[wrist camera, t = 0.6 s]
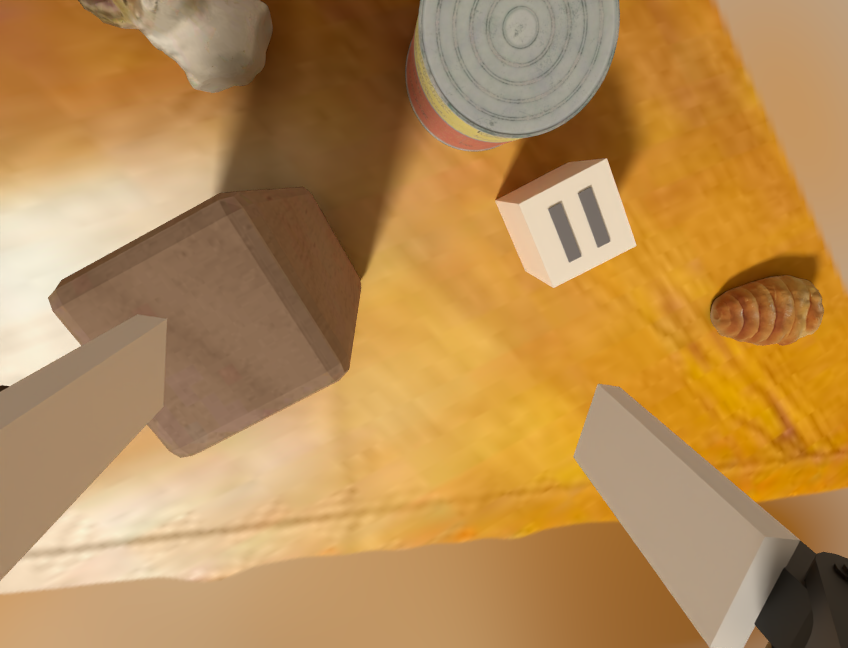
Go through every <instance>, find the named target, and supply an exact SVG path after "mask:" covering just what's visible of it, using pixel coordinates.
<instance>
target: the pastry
mask: <svg viewBox="0 0 848 648" xmlns="http://www.w3.org/2000/svg"><path fill="white" fill-rule="evenodd" d="M823 314H824V308H823V305H822V297H821V295H820V293H819V291H818V290H817V289H816V288H815V286H814V285H813V284H812V283H811V282H810V281H808V280H806V279H800V278H796V277H793V276H790V275H782V276H774V277H767V278H764V279H761V280H757V281H753V282H750V283H747V284H745V285H742V286H739V287H736V288H733V289H731V290H728V291H726V292H725V293H723V294H722V295H721V296H719V297H718V298H716V299H715V300H714V302H713V304H712V309H711V315H710V318H711V321H712V324H713V325H714V327H715V328H716V329H717V331H718V332H719V334H720V335H721V336H725V337H730V338H733V339H735V340H737V341H744V342H748V343H753V344H755V345H769V344H776V343H777V344H779V345H787V344H791V343H793V342H795V341H797V340H798V339H799V338H802V337H804V336H806V335H809V334H813V333H814V332H815V331H816V330H817V329H818V327H819V325H820V324H821V321H822V317H823Z"/></svg>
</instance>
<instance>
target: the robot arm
mask: <svg viewBox="0 0 848 648" xmlns="http://www.w3.org/2000/svg"><path fill="white" fill-rule="evenodd" d="M166 331H167V319H165V318H158V317H152V316H145V315H138V314H137V315H136V316H134V317H132V318H130V319H128V320H127V321H125V322H123V323H121V324H120V325H118V326H116V327H114V328H113V329H111V330H109V331H107V332H105V333H104V334H102V335H100V336H98V337H97V338H95V339H93V340H91V341H89V342H88V343H86V344H84V345H82V346H81V347H79V348H77V349H75V350H73V351H72V352H70V353H68V354H66V355H65V356H63V357H61V358H59V359H57V360H56V361H54V362H52V363H50V364H49V365H47V366H45V367H43V368H42V369H40V370H38V371H36V372H34V373H33V374H31V375H29V376H27V377H26V378H24V379H22V380H20V381H18V382H17V383H15V384H13V385H11V386H3V385H2V386H0V581H1V579H2V578H3V577H4V576H5V575H6V574H7V573H8V572H9V571H10V570H11V569H12V568H13V567H14V566H15V565H16V563H17V562H18V561H19V560H20V559H21V558H22V557H23V556H24V555H25V554H26V553H27V552H28V551H29V550H30V549H31V547H32V546H33V545H34V544H35V543H36V542H37V541H38V540H39V539H40V538H41V537H42V536H43V535H44V534H45V533H46V531H47V530H48V529H49V528H50V527H51V526H52V525H53V524H54V523H55V522H56V521H57V520H58V519H59V518H60V517H61V515H62V514H63V513H64V512H65V511H66V510H67V509H68V508H69V507H70V506H71V505H72V504H73V503H74V502H75V500H76V499H77V498H78V497H79V496H80V495H81V494H82V493H83V492H84V491H85V490H86V489H87V488H88V487H89V486H90V484H91V483H92V482H93V481H94V480H95V479H96V478H97V477H98V476H99V475H100V474H101V473H102V472H103V471H104V470H105V468H106V467H107V466H108V465H109V464H110V463H111V462H112V461H113V460H114V459H115V458H116V457H117V456H118V455H119V454H120V452H121V451H122V450H123V449H124V448H125V447H126V446H127V445H128V444H129V443H130V442H131V441H132V440H133V439H134V438H135V436H136V435H137V434H138V433H139V432H140V431H141V430H142V429H143V428H144V427H145V426H146V425H147V424H148V423H149V422H150V420H151V419H152V418H153V417H154V416H155V415H156V414H157V413H158V412H159V411H160V410H161V409H162V408H163V402H164V378H165V355H166ZM574 458H575V460H576V461H577V463H578V464H579V465H580V467H581V468H582V470H583V471H584V472H585V474H586V475H587V477H588V478H589V479H590V481H591V482H592V484H593V485H594V486H595V488H596V489H597V491H598V492H599V493H600V495H601V496H602V498H603V499H604V500H605V502H606V503H607V505H608V506H609V507H610V509H611V510H612V512H613V513H614V514H615V516H616V517H617V519H618V520H619V521H620V523H621V524H622V526H623V527H624V528H625V530H626V531H627V533H628V534H629V535H630V537H631V538H632V539H633V541H634V542H635V544H636V545H637V547H638V548H639V549H640V551H641V552H642V554H643V555H644V556H645V558H646V559H647V560H648V562H649V563H650V565H651V566H652V568H653V569H654V570H655V572H656V573H657V574H658V576H659V577H660V579H661V580H662V581H663V583H664V584H665V586H666V587H667V588H668V590H669V591H670V593H671V594H672V595H673V597H674V598H675V600H676V601H677V602H678V604H679V605H680V607H681V608H682V609H683V611H684V612H685V614H686V615H687V616H688V618H689V619H690V621H691V622H692V623H693V625H694V626H695V628H696V629H697V630H698V632H699V633H700V634H701V636H702V637H703V639H704V640H705V642H706V643H707V644H708V646H709V647H710V648H744V645H745V644H746V642H747V640H748V638H749V636H750V634H751V632H752V630H753V629H754V627H755V625H756V627H757V628H758V629H759V630H760V631H761V632H762V634H763V635H764V636H765V637H766V638H767V639H768V641H769V642H768V644H767V646H766V648H848V559H847V558H844V557H842V556H839V555H836V554H832V553H826V552H822V553H818V554H816V553H814V552H813V551H812V550H811V549H810V548H809V547H807V546H806V545H805V544H804V543H803V542H801V541H800V540H799V539H798V538H797V537H796V536H795V535H793V534H792V533H791V532H790V531H789V530H788V529H786V528H785V527H784V526H783V525H782V524H780V523H779V522H778V521H777V520H776V519H775V518H773V517H772V516H771V515H770V514H769V513H768V512H766V511H765V510H764V509H763V508H762V507H760V506H759V505H758V504H757V503H756V502H755V501H753V500H752V499H751V498H750V497H749V496H747V495H746V494H745V493H744V492H743V491H742V490H740V489H739V488H738V487H737V486H736V485H734V484H733V483H732V482H731V481H730V480H729V479H727V478H726V477H725V476H724V475H723V474H722V473H720V472H719V471H718V470H717V469H716V468H714V467H713V466H712V465H711V464H710V463H709V462H707V461H706V460H705V459H704V458H703V457H701V456H700V455H699V454H698V453H697V452H696V451H694V450H693V449H692V448H691V447H690V446H688V445H687V444H686V443H685V442H684V441H683V440H681V439H680V438H679V437H678V436H677V435H675V434H674V433H673V432H672V431H671V430H670V429H668V428H667V427H666V426H665V425H664V424H663V423H661V422H660V421H659V420H658V419H657V418H655V417H654V416H653V415H652V414H651V413H650V412H648V411H647V410H646V409H645V408H644V407H642V406H641V405H640V404H639V403H638V402H637V401H635V400H634V399H633V398H632V397H631V396H629V395H628V394H627V393H626V392H625V391H624V390H622V389H621V388H620V387H616V386H609V385H603V384H598V385H597V388H596V391H595V394H594V397H593V400H592V403H591V406H590V409H589V412H588V415H587V418H586V421H585V424H584V427H583V430H582V433H581V436H580V439H579V442H578V445H577V448H576V451H575V454H574Z"/></svg>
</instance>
